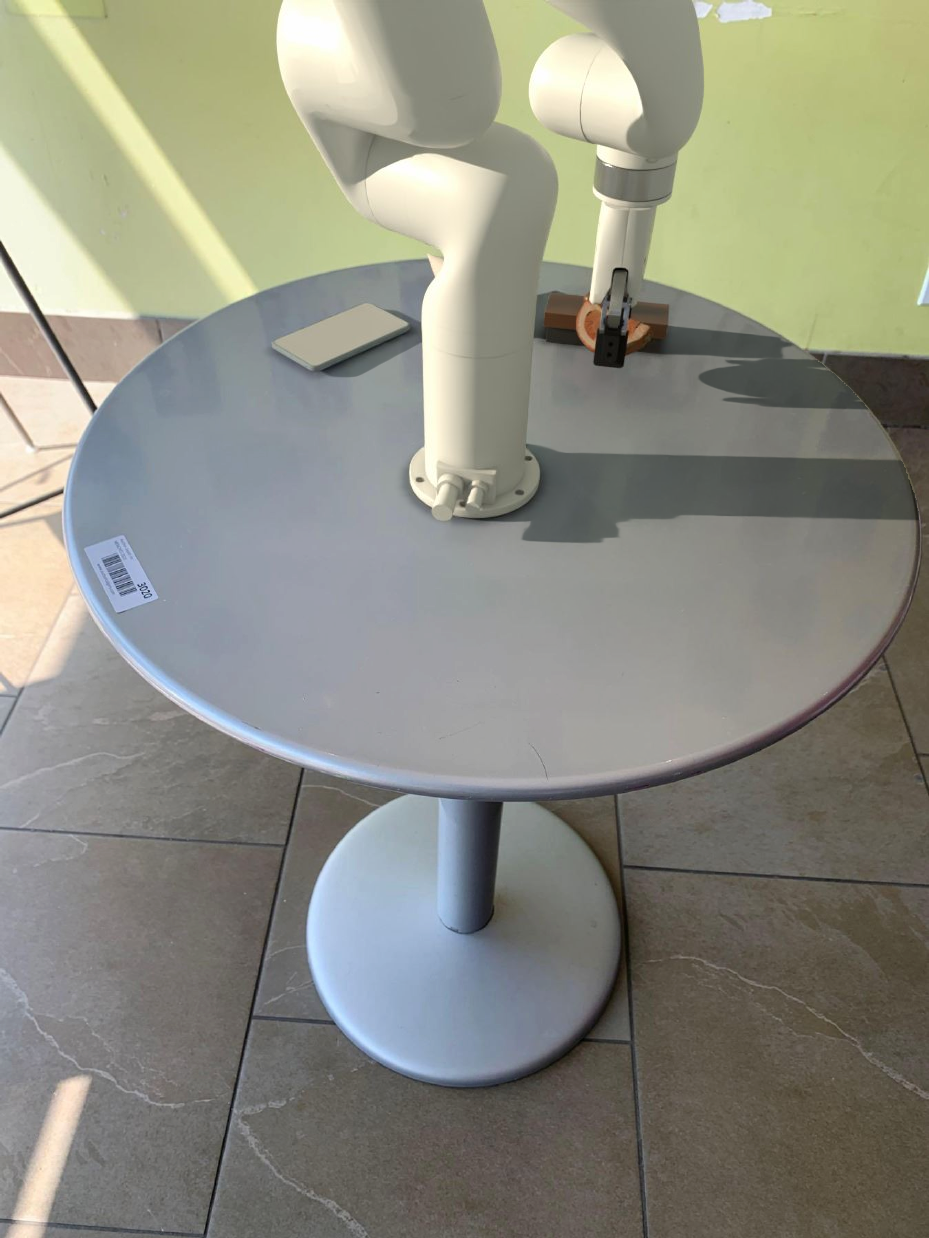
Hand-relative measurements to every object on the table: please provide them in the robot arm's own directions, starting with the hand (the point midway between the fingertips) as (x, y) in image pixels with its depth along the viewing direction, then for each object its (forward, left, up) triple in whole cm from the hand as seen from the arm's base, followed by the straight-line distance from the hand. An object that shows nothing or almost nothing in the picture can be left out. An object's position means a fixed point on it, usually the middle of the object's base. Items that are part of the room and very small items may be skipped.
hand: (611, 345), depth 98 cm
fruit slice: (0, 0, -1) cm, 1 cm away
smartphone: (+2, +31, -4) cm, 31 cm away
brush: (+9, +1, -4) cm, 10 cm away
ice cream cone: (+12, +19, -4) cm, 23 cm away
